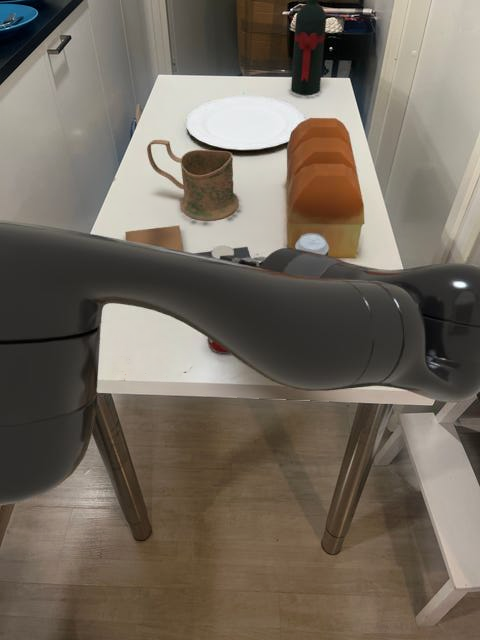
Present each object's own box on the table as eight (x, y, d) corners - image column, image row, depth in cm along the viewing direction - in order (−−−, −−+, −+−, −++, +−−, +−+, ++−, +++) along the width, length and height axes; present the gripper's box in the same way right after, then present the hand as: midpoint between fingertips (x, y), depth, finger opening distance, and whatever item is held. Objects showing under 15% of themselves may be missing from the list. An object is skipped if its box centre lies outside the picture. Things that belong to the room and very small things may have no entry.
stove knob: (213, 270, 80) (213, 260, 78) (210, 256, 82) (210, 246, 80) (235, 267, 80) (235, 257, 78) (232, 253, 82) (231, 243, 81)
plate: (167, 146, 116) (166, 138, 114) (211, 96, 135) (210, 89, 133) (288, 164, 109) (288, 156, 108) (316, 109, 128) (317, 102, 127)
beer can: (287, 293, 81) (292, 233, 72) (315, 289, 81) (323, 229, 73) (295, 314, 78) (300, 253, 69) (324, 309, 78) (333, 249, 69)
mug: (166, 180, 105) (159, 125, 97) (245, 193, 101) (245, 137, 93) (143, 210, 98) (132, 153, 89) (227, 225, 94) (225, 167, 85)
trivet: (127, 265, 86) (126, 262, 86) (126, 235, 92) (125, 231, 92) (184, 258, 87) (184, 255, 87) (179, 228, 93) (179, 225, 93)
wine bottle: (288, 97, 133) (295, -38, 112) (292, 82, 140) (300, -47, 118) (317, 99, 132) (331, -37, 110) (320, 84, 139) (334, -47, 117)
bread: (284, 182, 104) (288, 112, 94) (344, 183, 104) (355, 112, 93) (285, 257, 87) (290, 182, 76) (357, 259, 86) (372, 184, 76)
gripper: (254, 333, 49) (178, 296, 63) (352, 316, 56) (264, 286, 70) (256, 257, 47) (178, 236, 61) (358, 249, 53) (266, 232, 68)
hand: (224, 263), depth 65 cm, fingers closed
